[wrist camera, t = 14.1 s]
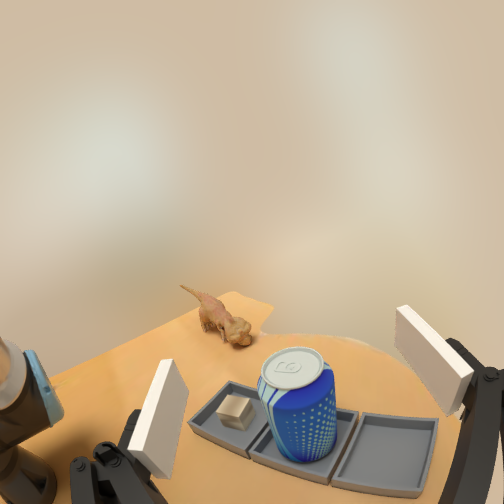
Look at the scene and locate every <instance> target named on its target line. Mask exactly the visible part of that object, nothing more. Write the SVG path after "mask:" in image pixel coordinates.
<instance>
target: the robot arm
mask: <svg viewBox="0 0 504 504" xmlns="http://www.w3.org/2000/svg"><path fill="white" fill-rule="evenodd" d="M395 346H396V348H397V349H398V350H399V351H400V353H401V354H402V356H403V357H404V358H405V359H406V361H407V362H408V363H409V365H410V366H411V367H412V369H413V370H414V372H415V373H416V374H417V376H418V377H419V378H420V380H421V381H422V382H423V384H424V385H425V387H426V388H427V389H428V391H429V392H430V394H431V395H432V396H433V398H434V399H435V401H436V402H437V403H438V405H439V406H440V408H441V409H442V411H443V412H444V414H445V415H446V417H448V416H449V415H451V414H453V413H454V412H456V411H458V410H459V408H460V406H461V403H463V404H464V405H465V409H464V411H463V413H462V415H461V417H460V420H461V419H462V423H461V429H460V433H459V438H458V442H457V446H456V450H455V454H454V458H453V462H452V465H451V468H450V472H449V475H448V478H447V481H446V484H445V487H444V489H443V492H442V495H441V497H440V500H439V502H438V504H485V502H486V499H487V495H488V491H489V488H490V484H491V479H492V475H493V470H494V465H495V460H496V454H497V448H498V439H499V431H500V434H501V443H502V452H503V468H504V369H502V370H498V369H496V368H494V367H484V366H483V365H482V364H481V363H480V362H479V361H478V360H477V359H476V358H475V357H474V356H473V355H472V354H471V353H470V352H468V350H467V349H466V348H464V346H463V345H462V344H461V343H460V342H459V341H457V340H455V339H452V338H449V339H447V340H444V339H443V338H442V337H441V336H440V335H439V334H438V333H437V332H435V331H434V329H432V328H431V327H430V326H429V325H428V324H427V323H426V322H425V321H424V320H423V319H422V318H421V317H420V316H419V315H418V314H417V313H416V312H415V311H413V310H412V309H411V308H410V307H409V306H408V305H404V306H401V307H398V308H396V328H395ZM188 394H189V390H188V388H187V386H186V385H185V383H184V381H183V379H182V377H181V375H180V373H179V371H178V369H177V367H176V364H175V362H174V360H173V359H166V360H161V362H160V364H159V366H158V369H157V371H156V374H155V376H154V379H153V382H152V384H151V387H150V389H149V392H148V394H147V397H146V400H145V402H144V405H143V408H142V410H139V409H135V410H134V411H133V412H132V414H131V415H130V416H129V418H128V421H127V423H126V424H127V425H126V426H125V428H124V431H123V433H122V436H121V438H120V441H119V443H118V446H116V445H115V444H114V443H112V442H106V441H105V442H102V443H100V444H98V445H97V446H96V447H95V449H94V451H93V457H94V458H95V459H96V460H97V461H95V462H91V461H90V460H88V459H87V458H86V457H77V458H75V459H74V460H73V461H72V462H71V464H70V485H71V499H72V504H168V503H167V501H166V500H165V499H164V497H163V496H162V494H161V493H160V492H159V490H158V489H157V487H156V486H155V485H154V483H153V482H152V480H150V475H151V474H153V475H154V476H155V477H156V478H160V479H171V475H172V470H173V465H174V460H175V455H176V450H177V445H178V440H179V435H180V430H181V426H182V421H183V416H184V412H185V407H186V403H187V398H188ZM63 417H64V409H63V407H62V405H61V403H60V401H59V399H58V397H57V395H56V393H55V391H54V389H53V387H52V385H51V383H50V381H49V379H48V377H47V375H46V373H45V371H44V369H43V367H42V365H41V363H40V361H39V359H38V357H37V355H36V353H35V352H34V351H33V350H28V351H27V350H25V351H24V353H22V351H21V350H20V349H19V347H18V346H17V345H16V344H14V343H13V342H11V341H8V340H3V339H1V337H0V496H1V497H2V498H3V499H4V501H5V502H6V503H7V504H51V503H52V502H53V500H54V497H55V493H56V478H55V474H54V472H53V470H52V469H51V468H50V466H49V465H47V464H46V463H45V462H44V461H43V460H42V459H41V458H39V457H38V456H36V455H34V454H33V453H31V452H29V451H27V450H26V449H24V448H22V447H21V446H19V445H18V444H20V443H21V442H23V441H25V440H27V439H29V438H31V437H32V436H34V435H36V434H38V433H40V432H42V431H44V430H46V429H47V428H49V427H50V428H51V427H53V425H54V424H55V423H57V422H58V421H60V420H61V419H62V418H63ZM462 417H463V418H462ZM503 499H504V498H503ZM503 504H504V500H503Z"/></svg>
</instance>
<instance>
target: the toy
mask: <svg viewBox="0 0 504 504" xmlns="http://www.w3.org/2000/svg"><path fill="white" fill-rule="evenodd" d="M180 286H181V287H182V288H184V289H185V290H187V291H189V292H190V293H192V294H193V295H194V296H196V298H198V300H199V301H200V302H201V307H200V309H199V316H200V321H201V326H202V328H203V330H204V331H205V333H206V327H207V329H208V330H209V325H210V326H212V327H213V324H212V322H213V323H215V324H216V326H217V328H218V330H219V331H221V335H222V340H223V341H224V342H225V339H227V340H228V342H229V343H237V342H238V343H239V344H240V345H242V346H245V345H249V344H250V341H251V336H249V335H248V334H249V332H250V330H251V324H250V323H249V322H247V321H245V320H244V319H243V318H240V317H231V314H230V313H229V312H227V311H226V309H225V307H224V305H223V303H222V302H221V301H220V300H217V299H215V298H214V297H212V296H209V295H207V294H205V293H201V292H199V291H195V290H192V289H190V288H188V287H185V286H183V285H180ZM209 320H211V321H212V322H211V321H209ZM222 327H224V329H225V332H224V330H222ZM224 337H225V338H224Z"/></svg>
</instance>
